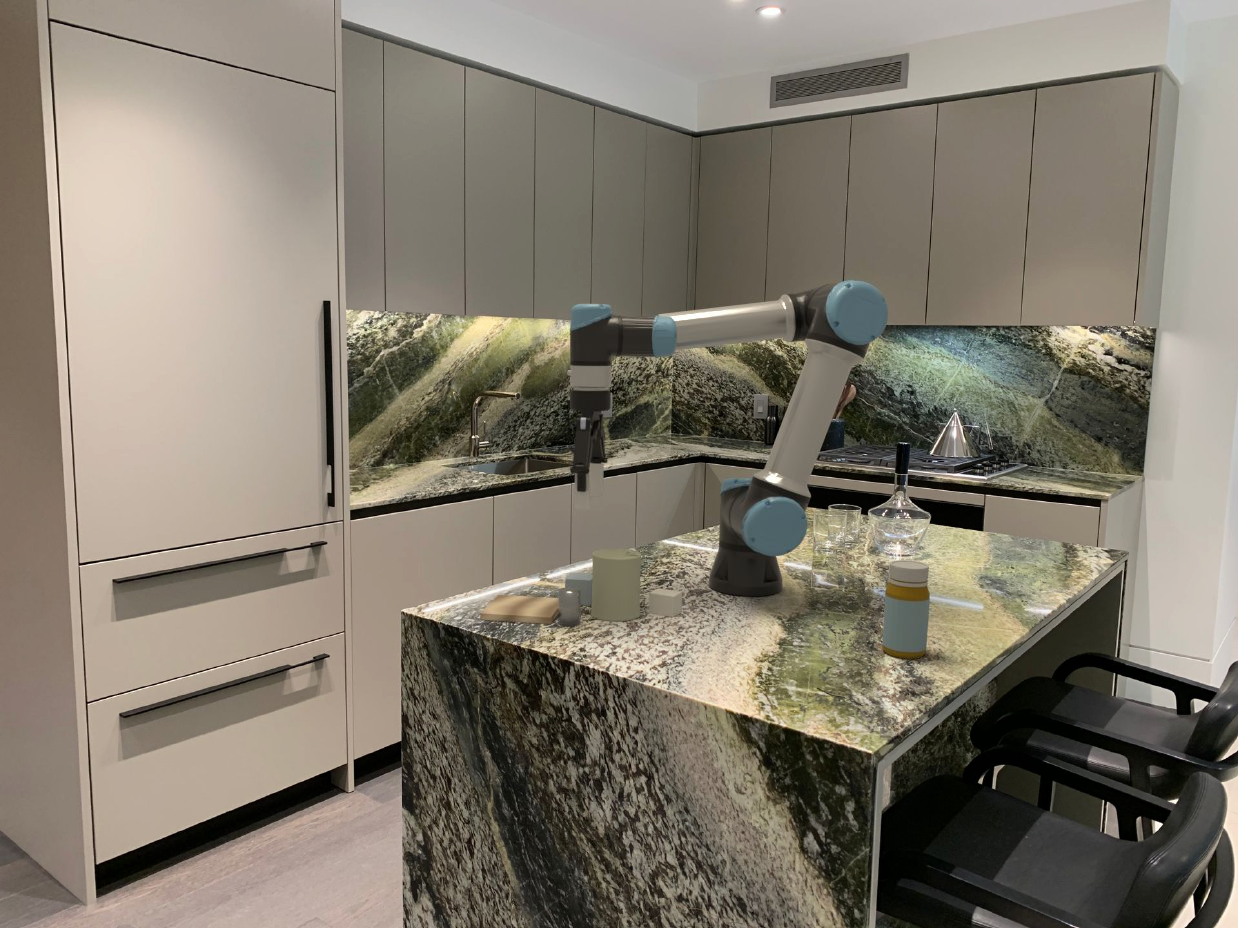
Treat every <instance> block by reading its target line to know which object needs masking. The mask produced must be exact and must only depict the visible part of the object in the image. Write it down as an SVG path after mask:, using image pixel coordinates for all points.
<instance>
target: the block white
mask: <svg viewBox="0 0 1238 928" xmlns="http://www.w3.org/2000/svg"><path fill="white" fill-rule="evenodd" d="M682 609H683V591H679V590H672V589H665V588H659V587H658V588H656V589H654V590H652V591H650V592H649V593H648V614H652V615H656V616H657V615H658V616H664V617H670V618H674V617H676V616H677V615H679V614H681V613H682V612H683V610H682Z"/></svg>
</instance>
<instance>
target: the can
mask: <svg viewBox="0 0 1238 928" xmlns="http://www.w3.org/2000/svg"><path fill="white" fill-rule="evenodd" d="M591 554H592V555H591V556H592V574H593V577H592V604H591V610H590V614H591V616H592V617H593V618H595V619H598V620H601V621H606V622H607V621H608V622H627V621H633V620H637V619H638V618H640V617H641V608H640V606H641V602H640V601H641V572H642V571H641V568H642V567H641V566H642V565H641V564H642V552H639V551H638V550H634V549H629V548H620V547H619V548H618V547H617V548H616V547H615V548H612V547H611V548H602V549H601V548H600V549H597V550H594V551H592V553H591Z"/></svg>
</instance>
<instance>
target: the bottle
mask: <svg viewBox="0 0 1238 928" xmlns="http://www.w3.org/2000/svg"><path fill="white" fill-rule="evenodd" d="M929 569H930V567H929V564H926V563H925V562H920V561H915V560H906V559H905V560H904V559H903V560H901V559H900V560H892V561H890V562H889V568H888V570H889V572H888V583H887V586H886V589H885V594H884V608H883V611H884V612H883V626H882V645H881V646H882V650H883V651H884V652H885V653H886V654H887V655H889V656H891V657H894V658H900V659H907V660H911V659H912V660H913V659H919V658H921V657H923V656H924V655H925V654H926V652H927V647H928V645H927V644H928V629H929V628H928V627H929V626H928V625H929V616H930V615H929V614H930V613H929V611H930V590H929V588H928V583H929V581H928V580H929V572H930V570H929Z"/></svg>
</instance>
